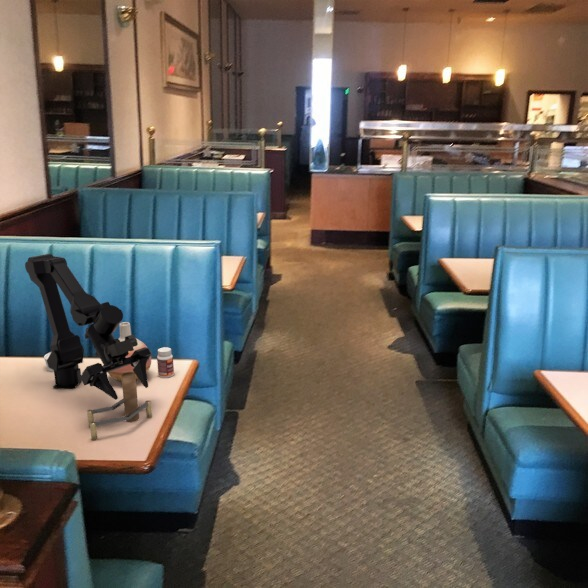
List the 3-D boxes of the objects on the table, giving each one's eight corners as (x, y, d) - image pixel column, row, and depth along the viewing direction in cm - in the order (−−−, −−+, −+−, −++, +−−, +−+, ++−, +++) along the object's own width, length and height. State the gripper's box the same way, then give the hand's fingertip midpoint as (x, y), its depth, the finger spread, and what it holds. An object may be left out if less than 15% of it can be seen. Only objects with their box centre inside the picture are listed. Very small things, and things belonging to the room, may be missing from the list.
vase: (158, 370, 195) (154, 316, 190) (144, 388, 182) (139, 331, 177) (115, 369, 196) (110, 315, 191) (99, 387, 183) (92, 330, 178)
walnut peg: (125, 422, 162) (120, 378, 158) (125, 416, 165) (121, 372, 162) (138, 421, 163) (134, 377, 159) (139, 415, 166) (135, 371, 162)
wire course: (78, 440, 154) (76, 423, 152) (101, 410, 169) (99, 395, 167) (137, 441, 153) (135, 425, 151) (155, 411, 168) (153, 396, 166)
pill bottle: (170, 378, 188) (168, 352, 186) (155, 377, 189) (153, 351, 187) (176, 372, 193) (174, 347, 191) (162, 371, 194) (160, 346, 191)
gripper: (81, 337, 153) (111, 390, 149) (145, 318, 166) (173, 367, 162) (68, 359, 160) (96, 410, 156) (130, 339, 174) (157, 386, 170)
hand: (132, 393), depth 161 cm, fingers open, 9 cm apart
